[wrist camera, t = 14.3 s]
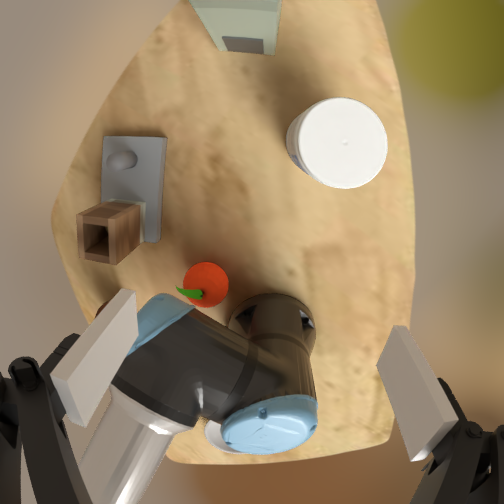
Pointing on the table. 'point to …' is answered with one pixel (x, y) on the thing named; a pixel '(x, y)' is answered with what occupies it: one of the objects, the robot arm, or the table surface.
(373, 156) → the supplement tub
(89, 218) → the sleeve
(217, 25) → the tower
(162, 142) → the pin board
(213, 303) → the clementine
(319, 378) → the table surface
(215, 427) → the dish
